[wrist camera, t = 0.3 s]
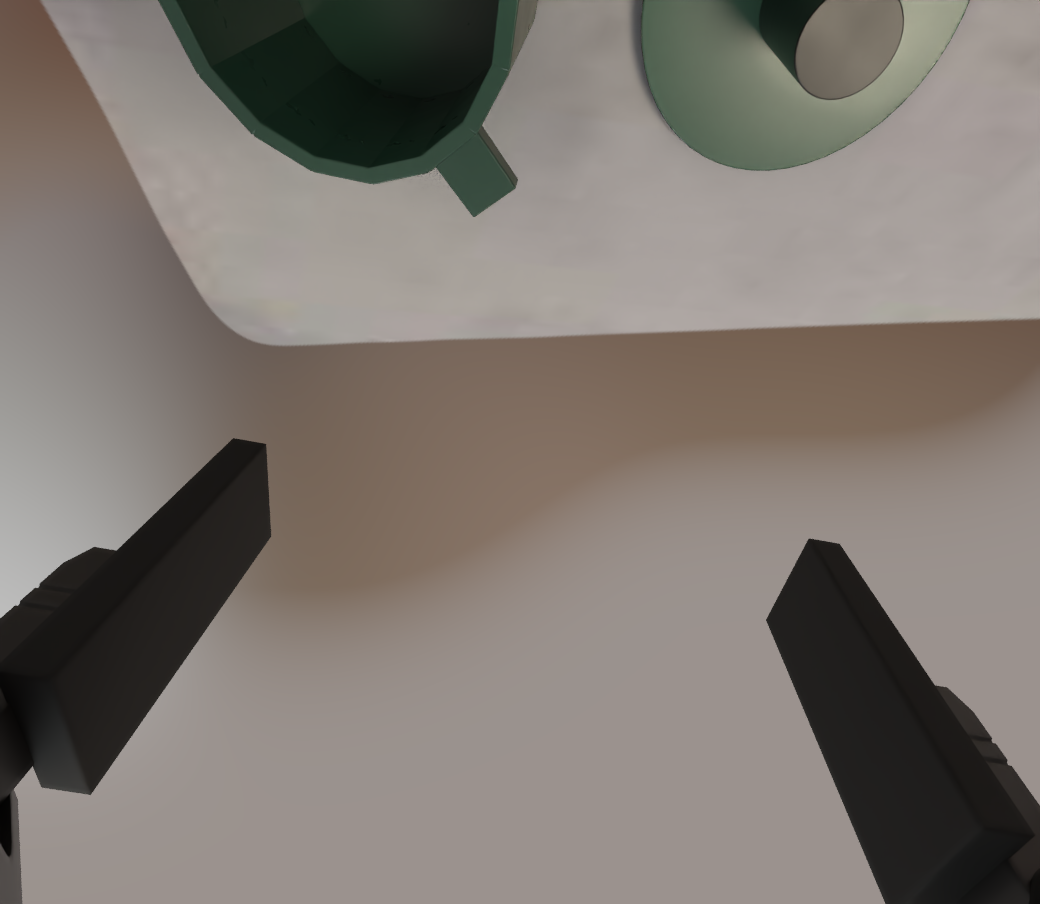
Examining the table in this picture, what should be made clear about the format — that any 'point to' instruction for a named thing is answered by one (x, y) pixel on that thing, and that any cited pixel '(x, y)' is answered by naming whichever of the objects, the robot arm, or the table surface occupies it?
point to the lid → (787, 71)
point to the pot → (365, 82)
